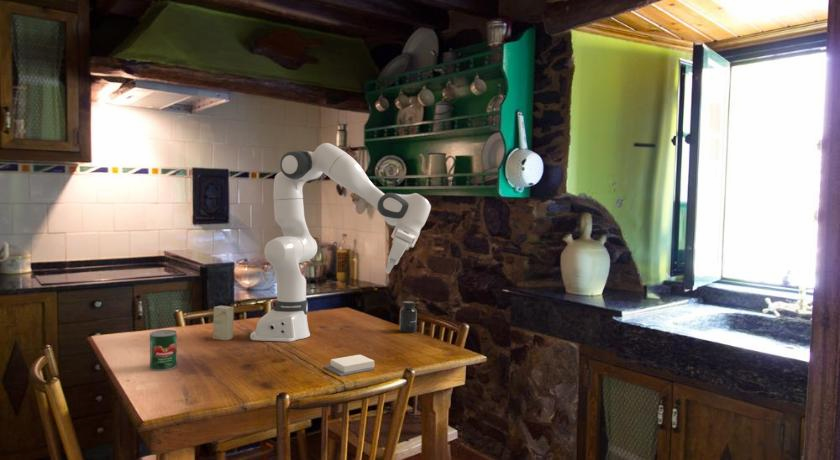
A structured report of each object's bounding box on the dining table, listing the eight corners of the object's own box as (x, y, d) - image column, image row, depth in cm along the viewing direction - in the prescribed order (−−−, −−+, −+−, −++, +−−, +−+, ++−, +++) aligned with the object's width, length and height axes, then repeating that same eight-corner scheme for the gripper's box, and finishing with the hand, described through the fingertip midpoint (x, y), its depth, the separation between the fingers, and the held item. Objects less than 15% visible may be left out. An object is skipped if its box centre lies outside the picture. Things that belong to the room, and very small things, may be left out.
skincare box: (212, 339, 226) (212, 307, 225) (220, 336, 230) (220, 305, 229) (226, 340, 223) (226, 308, 223) (234, 338, 227) (234, 306, 227)
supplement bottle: (414, 333, 240) (414, 304, 239) (397, 332, 241) (398, 303, 240) (418, 329, 246) (418, 301, 246) (401, 328, 248) (402, 300, 247)
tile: (374, 367, 192) (344, 373, 185) (360, 360, 199) (330, 365, 193) (374, 360, 192) (344, 366, 185) (360, 354, 199) (330, 359, 192)
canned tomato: (160, 372, 184) (159, 337, 183) (144, 367, 188) (144, 333, 188) (182, 366, 191) (182, 332, 190) (166, 362, 195) (166, 328, 194)
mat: (340, 376, 184) (340, 374, 183) (323, 367, 192) (323, 366, 192) (374, 369, 191) (374, 368, 191) (356, 361, 199) (356, 360, 199)
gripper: (395, 237, 221) (378, 271, 219) (396, 229, 201) (378, 266, 199) (410, 244, 221) (394, 278, 219) (413, 238, 201) (395, 275, 199)
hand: (386, 273), depth 209 cm, fingers closed
